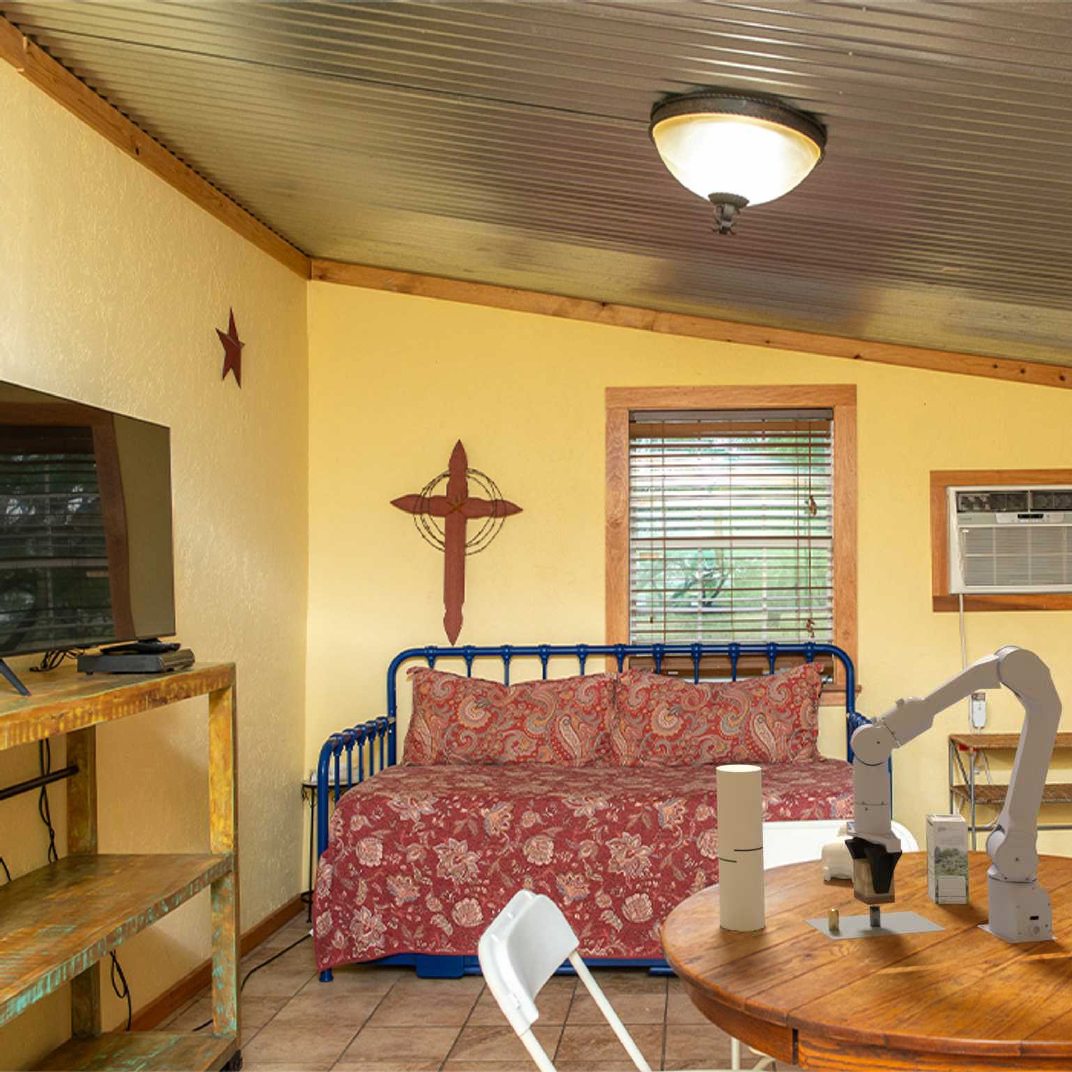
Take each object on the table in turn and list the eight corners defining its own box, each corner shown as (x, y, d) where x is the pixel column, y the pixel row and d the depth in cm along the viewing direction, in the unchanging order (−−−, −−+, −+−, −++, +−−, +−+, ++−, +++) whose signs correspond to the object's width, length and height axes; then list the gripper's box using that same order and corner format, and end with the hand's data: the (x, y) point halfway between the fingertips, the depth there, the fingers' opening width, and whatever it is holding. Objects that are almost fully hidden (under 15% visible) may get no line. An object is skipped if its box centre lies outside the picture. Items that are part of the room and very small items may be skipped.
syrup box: (961, 898, 211) (959, 812, 211) (970, 907, 205) (967, 819, 205) (927, 897, 211) (924, 812, 212) (935, 907, 205) (932, 819, 206)
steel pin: (882, 930, 193) (881, 907, 193) (873, 931, 192) (872, 908, 193) (877, 927, 194) (877, 904, 194) (868, 928, 194) (867, 905, 194)
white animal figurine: (867, 900, 222) (879, 852, 235) (862, 859, 219) (875, 813, 232) (819, 895, 226) (834, 848, 238) (814, 856, 223) (829, 811, 236)
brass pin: (841, 934, 191) (840, 910, 192) (831, 934, 191) (830, 911, 191) (836, 931, 193) (835, 908, 193) (827, 932, 193) (826, 908, 193)
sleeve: (894, 902, 192) (893, 864, 192) (867, 905, 191) (866, 866, 191) (880, 895, 196) (879, 857, 196) (854, 897, 195) (853, 859, 196)
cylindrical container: (764, 932, 193) (760, 772, 194) (718, 930, 195) (715, 771, 195) (765, 919, 200) (761, 764, 201) (721, 917, 202) (717, 764, 202)
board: (947, 933, 190) (947, 929, 190) (833, 943, 187) (833, 939, 187) (911, 914, 201) (911, 911, 201) (803, 923, 197) (803, 919, 197)
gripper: (828, 795, 200) (830, 879, 200) (869, 811, 186) (872, 902, 186) (868, 792, 202) (870, 876, 201) (912, 809, 188) (914, 899, 187)
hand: (873, 888), depth 194 cm, fingers closed on sleeve, 5 cm apart
